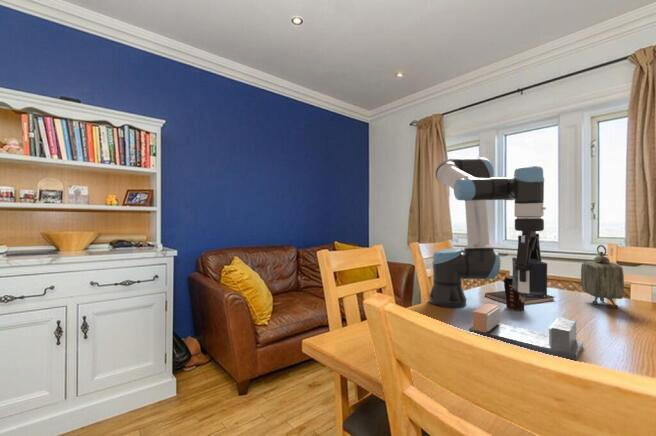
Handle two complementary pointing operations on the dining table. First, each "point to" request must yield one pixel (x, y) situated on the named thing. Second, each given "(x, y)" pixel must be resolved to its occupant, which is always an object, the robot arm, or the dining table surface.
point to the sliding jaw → (486, 317)
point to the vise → (541, 338)
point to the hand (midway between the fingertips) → (529, 288)
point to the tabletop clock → (602, 278)
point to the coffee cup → (512, 296)
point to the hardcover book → (501, 297)
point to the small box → (533, 279)
